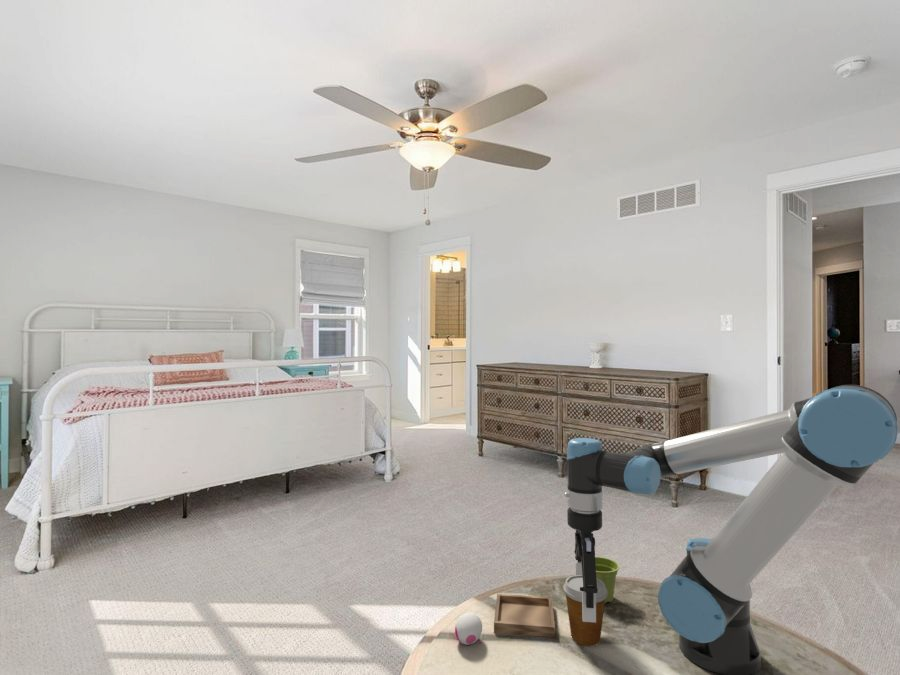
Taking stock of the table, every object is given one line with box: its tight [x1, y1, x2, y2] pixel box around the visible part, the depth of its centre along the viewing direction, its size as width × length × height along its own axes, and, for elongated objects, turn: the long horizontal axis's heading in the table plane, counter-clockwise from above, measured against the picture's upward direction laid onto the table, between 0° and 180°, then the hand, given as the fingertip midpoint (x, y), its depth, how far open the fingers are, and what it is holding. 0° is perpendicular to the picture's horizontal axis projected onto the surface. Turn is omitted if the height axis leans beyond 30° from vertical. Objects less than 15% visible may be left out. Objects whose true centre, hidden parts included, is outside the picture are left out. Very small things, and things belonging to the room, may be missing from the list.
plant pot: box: [595, 556, 620, 604], centre depth 129 cm, size 9×9×9 cm
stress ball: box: [454, 612, 483, 646], centre depth 110 cm, size 8×8×7 cm
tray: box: [493, 593, 556, 638], centre depth 119 cm, size 14×14×2 cm
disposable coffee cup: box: [563, 574, 608, 647], centre depth 111 cm, size 10×10×12 cm
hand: (585, 604), depth 111 cm, fingers open, 13 cm apart
